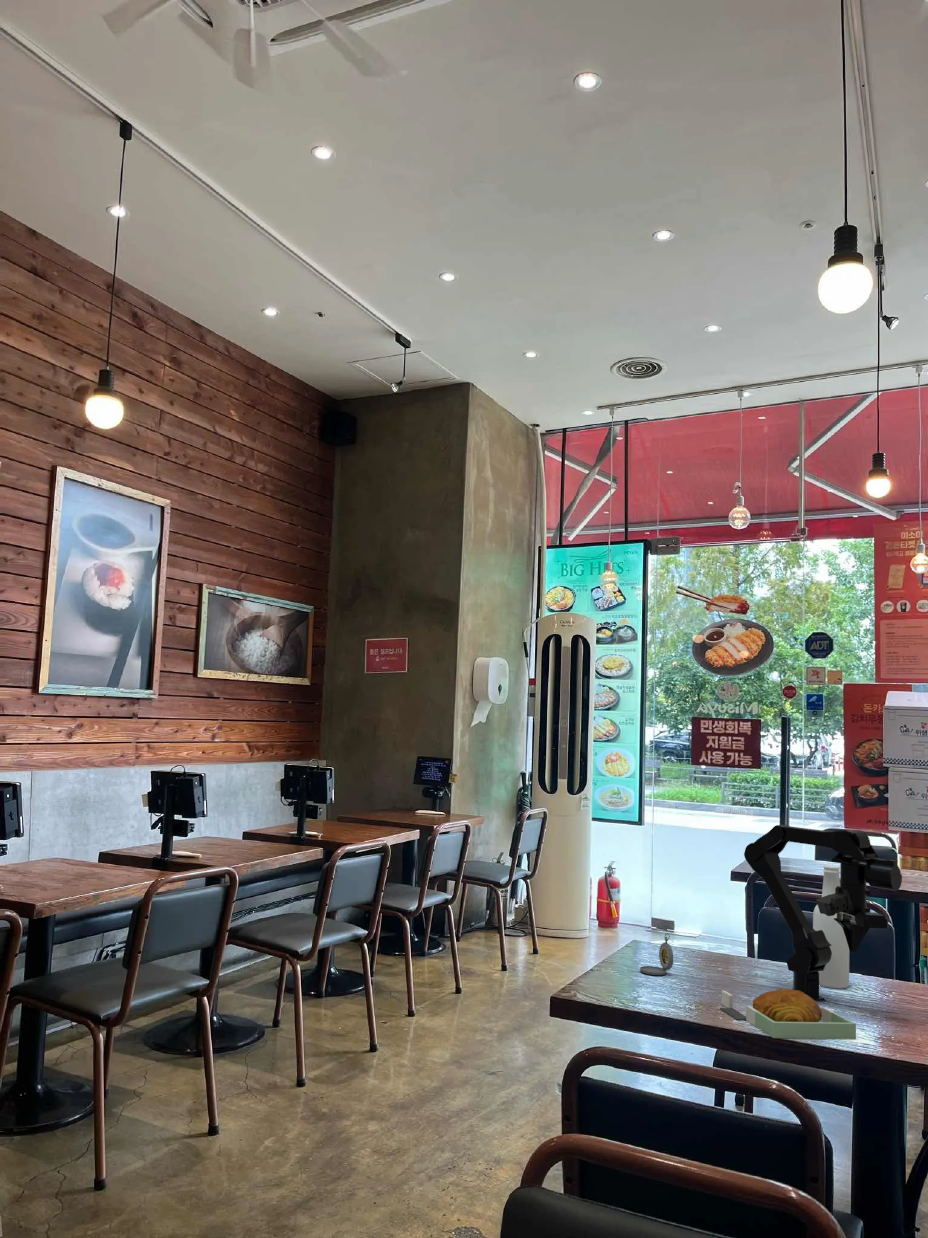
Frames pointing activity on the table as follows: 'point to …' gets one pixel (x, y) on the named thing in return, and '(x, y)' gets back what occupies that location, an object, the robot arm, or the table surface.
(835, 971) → the white bottle
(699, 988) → the table surface
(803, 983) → the robot arm
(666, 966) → the pocket watch
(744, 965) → the table surface
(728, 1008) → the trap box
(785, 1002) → the croissant
